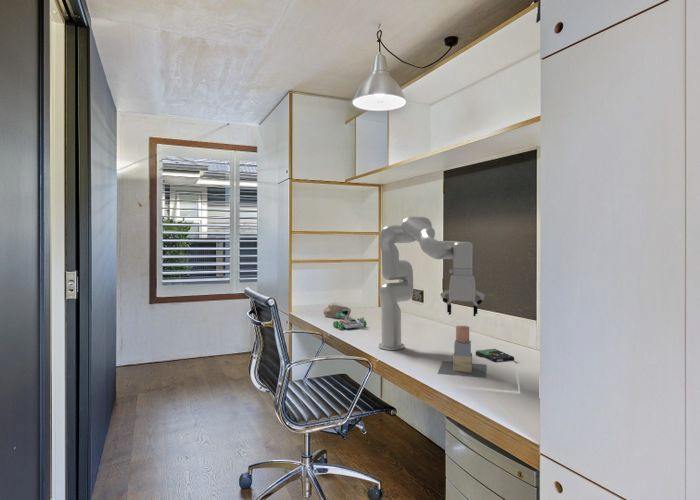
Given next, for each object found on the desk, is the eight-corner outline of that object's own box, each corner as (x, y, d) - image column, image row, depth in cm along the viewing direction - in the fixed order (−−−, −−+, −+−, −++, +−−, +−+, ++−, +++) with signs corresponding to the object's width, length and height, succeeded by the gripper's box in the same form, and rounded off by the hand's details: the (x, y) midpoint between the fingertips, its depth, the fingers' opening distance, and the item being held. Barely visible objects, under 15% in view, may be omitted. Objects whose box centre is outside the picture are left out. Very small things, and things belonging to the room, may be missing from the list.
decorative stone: (352, 318, 294) (352, 303, 293) (346, 320, 288) (345, 305, 287) (329, 315, 306) (328, 301, 305) (322, 317, 299) (322, 302, 299)
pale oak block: (454, 365, 181) (454, 351, 181) (472, 367, 179) (472, 352, 179) (453, 370, 175) (453, 355, 174) (471, 372, 172) (471, 357, 172)
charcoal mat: (442, 362, 188) (442, 361, 188) (486, 366, 182) (486, 364, 182) (437, 375, 171) (437, 373, 171) (485, 380, 165) (485, 377, 165)
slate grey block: (455, 351, 180) (455, 339, 180) (470, 352, 178) (470, 340, 178) (454, 355, 175) (454, 343, 175) (470, 356, 173) (470, 344, 173)
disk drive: (514, 363, 189) (494, 354, 203) (515, 356, 189) (494, 348, 203) (493, 365, 186) (474, 355, 201) (493, 358, 186) (474, 349, 200)
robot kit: (350, 321, 284) (350, 307, 284) (369, 328, 262) (369, 312, 262) (324, 324, 276) (324, 309, 276) (341, 331, 254) (341, 315, 253)
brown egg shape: (456, 339, 180) (456, 325, 180) (469, 340, 178) (469, 326, 178) (455, 342, 175) (455, 327, 175) (468, 343, 173) (468, 328, 173)
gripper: (439, 272, 175) (439, 315, 176) (484, 274, 169) (484, 318, 170) (441, 271, 182) (441, 312, 183) (485, 272, 177) (484, 314, 177)
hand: (462, 315), depth 176 cm, fingers open, 9 cm apart
